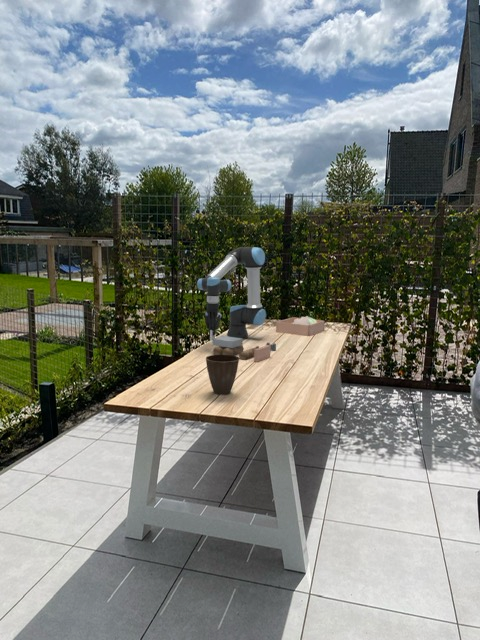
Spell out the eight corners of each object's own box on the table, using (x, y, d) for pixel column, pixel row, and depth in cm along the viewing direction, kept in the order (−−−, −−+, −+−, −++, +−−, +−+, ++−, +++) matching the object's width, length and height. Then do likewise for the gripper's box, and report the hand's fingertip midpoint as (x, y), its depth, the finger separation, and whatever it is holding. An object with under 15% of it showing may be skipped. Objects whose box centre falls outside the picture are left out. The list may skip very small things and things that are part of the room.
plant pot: (198, 391, 223) (199, 357, 220) (222, 385, 233) (223, 352, 231) (220, 399, 212) (221, 363, 210) (245, 392, 223) (246, 358, 220)
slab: (223, 342, 309) (223, 335, 308) (242, 344, 302) (242, 338, 301) (212, 345, 299) (212, 338, 298) (231, 348, 292) (232, 341, 291)
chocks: (227, 350, 310) (227, 349, 310) (259, 355, 299) (259, 354, 299) (213, 354, 297) (213, 354, 297) (245, 360, 285) (246, 359, 285)
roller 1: (227, 350, 310) (227, 342, 310) (234, 351, 308) (234, 343, 307) (213, 355, 297) (213, 346, 296) (220, 356, 294) (220, 347, 293)
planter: (292, 326, 405) (293, 317, 403) (324, 330, 391) (324, 320, 389) (276, 332, 379) (276, 321, 378) (308, 336, 365) (309, 325, 364)
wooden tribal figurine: (286, 322, 396) (315, 314, 392) (291, 339, 394) (320, 331, 389) (284, 320, 382) (313, 312, 378) (289, 338, 380) (319, 330, 375)
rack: (267, 349, 316) (267, 342, 315) (275, 350, 313) (276, 343, 312) (255, 353, 302) (255, 346, 302) (263, 355, 299) (264, 347, 299)
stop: (267, 356, 296) (267, 345, 295) (270, 356, 295) (270, 345, 294) (254, 361, 282) (254, 349, 281) (257, 362, 281) (257, 350, 280)
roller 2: (236, 351, 307) (236, 343, 306) (243, 353, 304) (243, 345, 304) (222, 356, 294) (222, 347, 293) (229, 358, 291) (229, 349, 290)
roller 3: (252, 354, 301) (252, 346, 300) (259, 355, 299) (259, 348, 298) (238, 359, 288) (239, 351, 287) (245, 360, 285) (246, 352, 284)
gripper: (200, 302, 302) (200, 339, 306) (218, 304, 296) (217, 342, 299) (207, 301, 309) (207, 338, 312) (225, 302, 302) (224, 340, 306)
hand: (212, 340), depth 306 cm, fingers closed
